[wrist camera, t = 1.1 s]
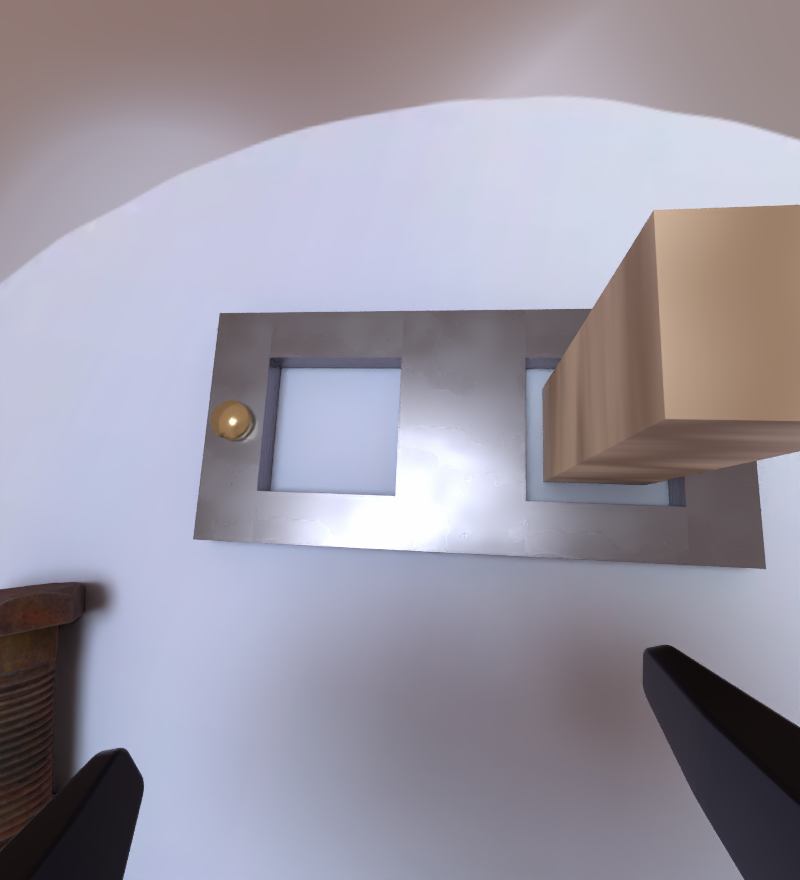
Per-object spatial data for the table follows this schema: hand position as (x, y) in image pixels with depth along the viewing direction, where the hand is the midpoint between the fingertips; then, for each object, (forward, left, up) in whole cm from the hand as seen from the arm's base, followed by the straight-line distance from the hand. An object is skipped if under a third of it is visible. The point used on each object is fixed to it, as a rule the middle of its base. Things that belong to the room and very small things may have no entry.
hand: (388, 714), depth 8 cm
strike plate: (+4, -6, -14) cm, 16 cm away
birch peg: (0, -10, -14) cm, 17 cm away
